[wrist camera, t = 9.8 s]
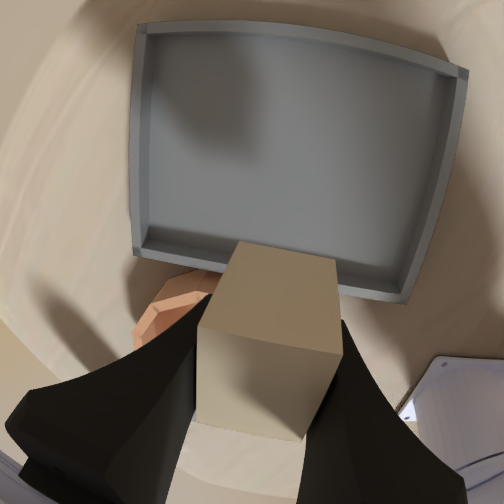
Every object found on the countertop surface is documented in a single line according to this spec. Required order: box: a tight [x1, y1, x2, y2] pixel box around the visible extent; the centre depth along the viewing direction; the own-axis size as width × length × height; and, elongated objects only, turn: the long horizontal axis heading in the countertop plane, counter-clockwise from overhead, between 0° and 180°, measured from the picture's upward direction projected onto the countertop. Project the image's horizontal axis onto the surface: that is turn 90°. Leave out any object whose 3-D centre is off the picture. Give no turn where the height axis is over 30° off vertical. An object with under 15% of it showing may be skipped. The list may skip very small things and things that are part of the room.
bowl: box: [132, 269, 223, 350], centre depth 21 cm, size 12×12×3 cm
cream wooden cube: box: [196, 241, 343, 443], centre depth 10 cm, size 4×3×4 cm
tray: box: [129, 20, 469, 305], centre depth 15 cm, size 16×13×2 cm
